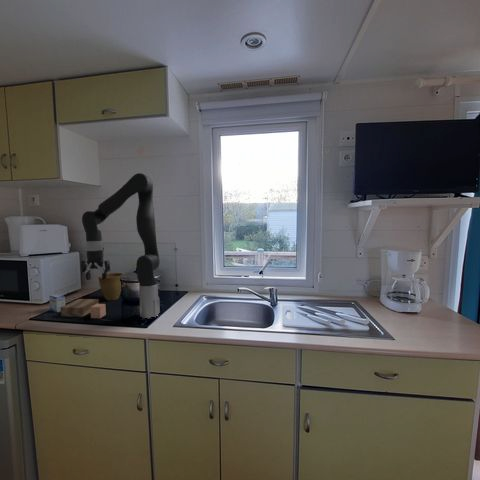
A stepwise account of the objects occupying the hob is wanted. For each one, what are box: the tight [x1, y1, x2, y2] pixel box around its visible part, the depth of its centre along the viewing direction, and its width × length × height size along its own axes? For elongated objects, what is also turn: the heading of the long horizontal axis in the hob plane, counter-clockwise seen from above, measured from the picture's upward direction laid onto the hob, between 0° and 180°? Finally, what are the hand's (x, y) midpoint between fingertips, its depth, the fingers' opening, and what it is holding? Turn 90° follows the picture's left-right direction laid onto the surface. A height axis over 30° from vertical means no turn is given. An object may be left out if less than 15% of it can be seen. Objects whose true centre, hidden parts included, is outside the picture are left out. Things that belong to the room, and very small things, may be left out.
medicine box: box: [49, 293, 66, 313], centre depth 140 cm, size 8×4×9 cm, turn 62°
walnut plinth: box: [60, 298, 100, 318], centre depth 138 cm, size 12×14×5 cm
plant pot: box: [97, 272, 125, 301], centre depth 160 cm, size 15×15×16 cm
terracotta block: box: [90, 303, 107, 319], centre depth 131 cm, size 5×5×6 cm
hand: (96, 279), depth 130 cm, fingers open, 8 cm apart
